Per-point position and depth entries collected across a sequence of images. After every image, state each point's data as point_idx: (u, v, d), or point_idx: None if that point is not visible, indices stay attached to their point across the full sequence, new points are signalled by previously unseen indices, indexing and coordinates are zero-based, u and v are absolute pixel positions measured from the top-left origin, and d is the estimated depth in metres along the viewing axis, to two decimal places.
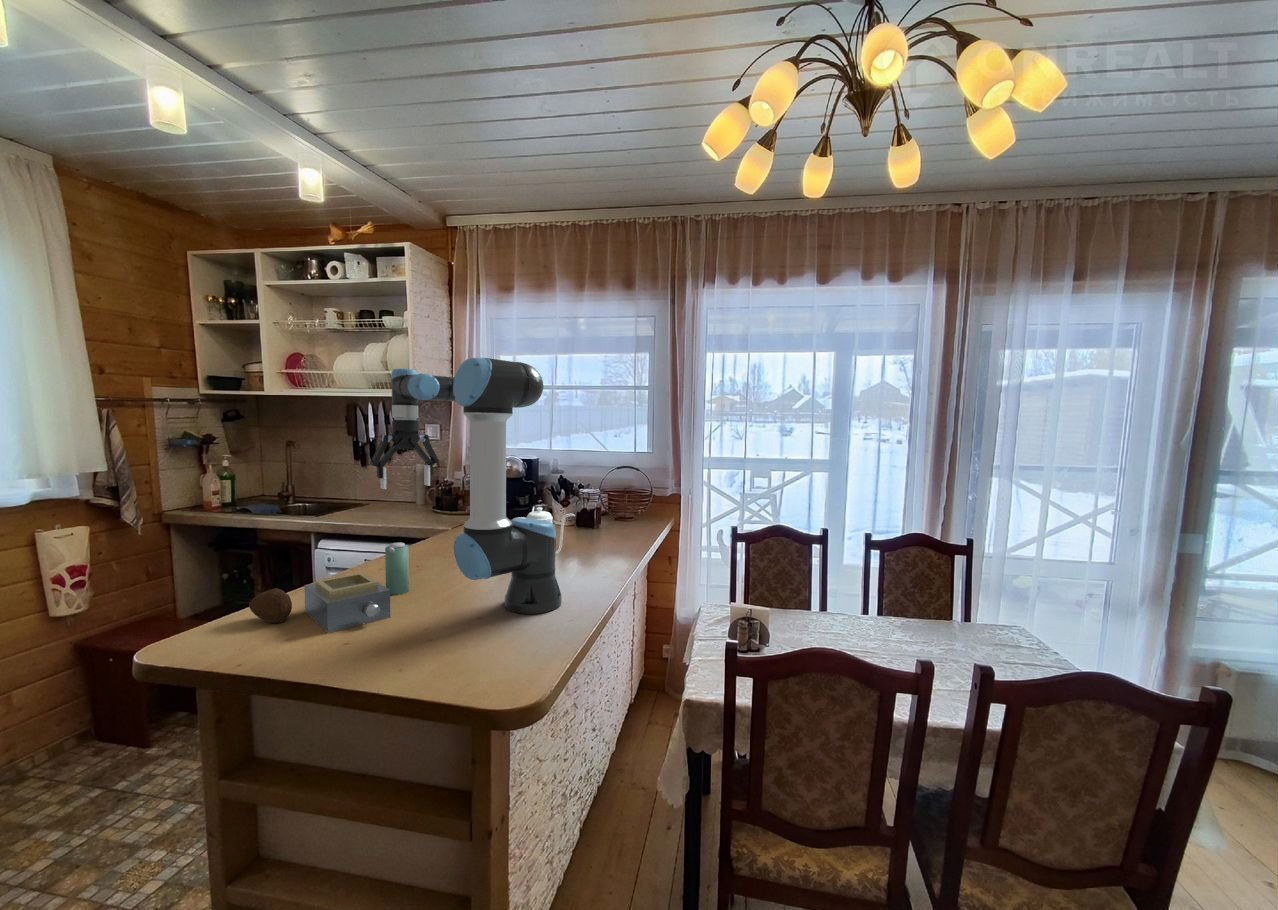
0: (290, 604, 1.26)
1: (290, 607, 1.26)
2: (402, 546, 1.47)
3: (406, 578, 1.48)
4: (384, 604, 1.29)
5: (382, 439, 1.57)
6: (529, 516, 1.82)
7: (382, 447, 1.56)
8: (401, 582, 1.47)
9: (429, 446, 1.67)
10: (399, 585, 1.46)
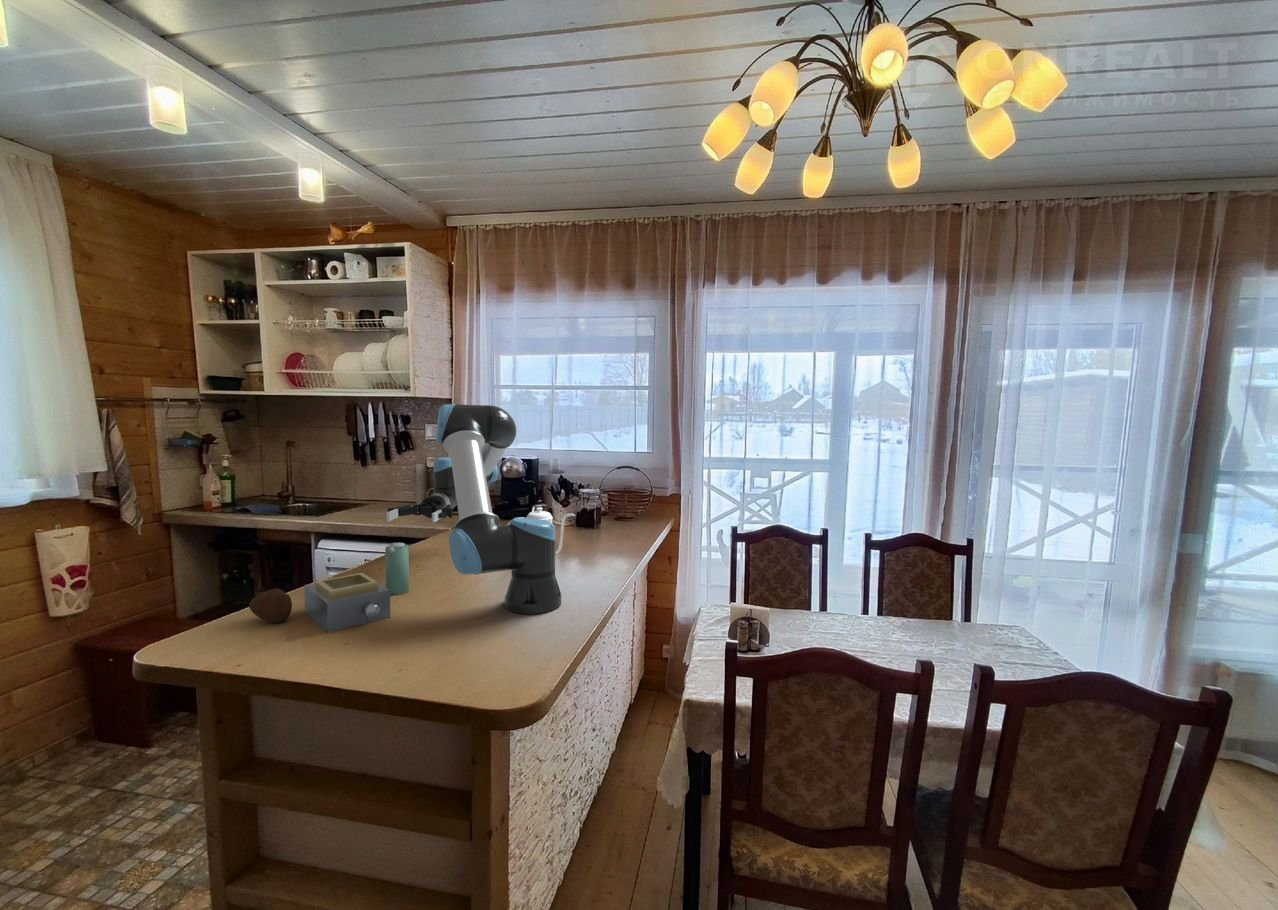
0: (290, 604, 1.26)
1: (290, 607, 1.26)
2: (402, 546, 1.47)
3: (406, 578, 1.48)
4: (384, 604, 1.29)
5: None
6: (529, 516, 1.82)
7: None
8: (401, 582, 1.47)
9: (447, 506, 1.70)
10: (399, 585, 1.46)
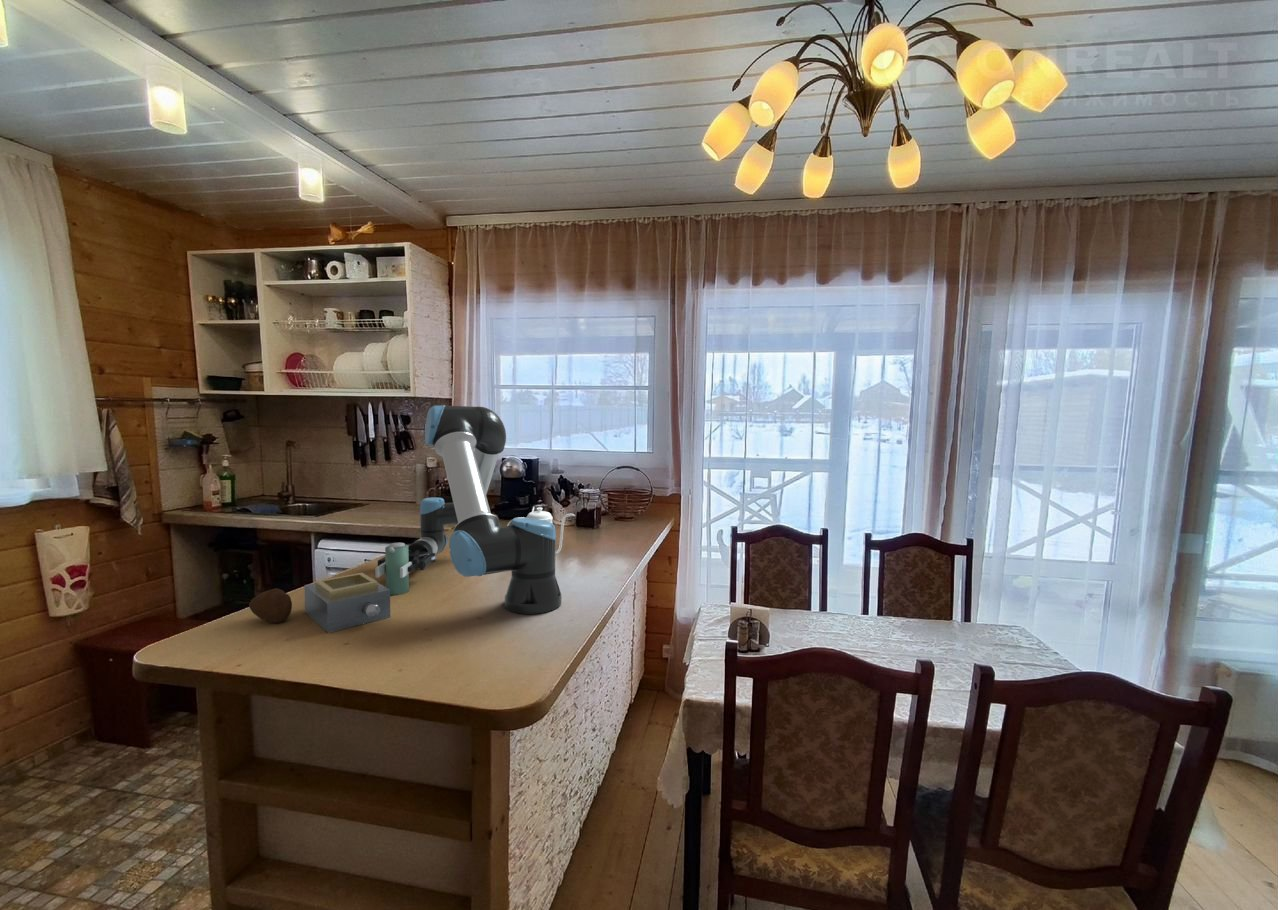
0: (290, 604, 1.26)
1: (290, 607, 1.26)
2: (402, 546, 1.47)
3: (406, 578, 1.48)
4: (384, 604, 1.29)
5: None
6: (529, 516, 1.82)
7: None
8: (401, 582, 1.47)
9: (427, 556, 1.57)
10: (399, 585, 1.46)
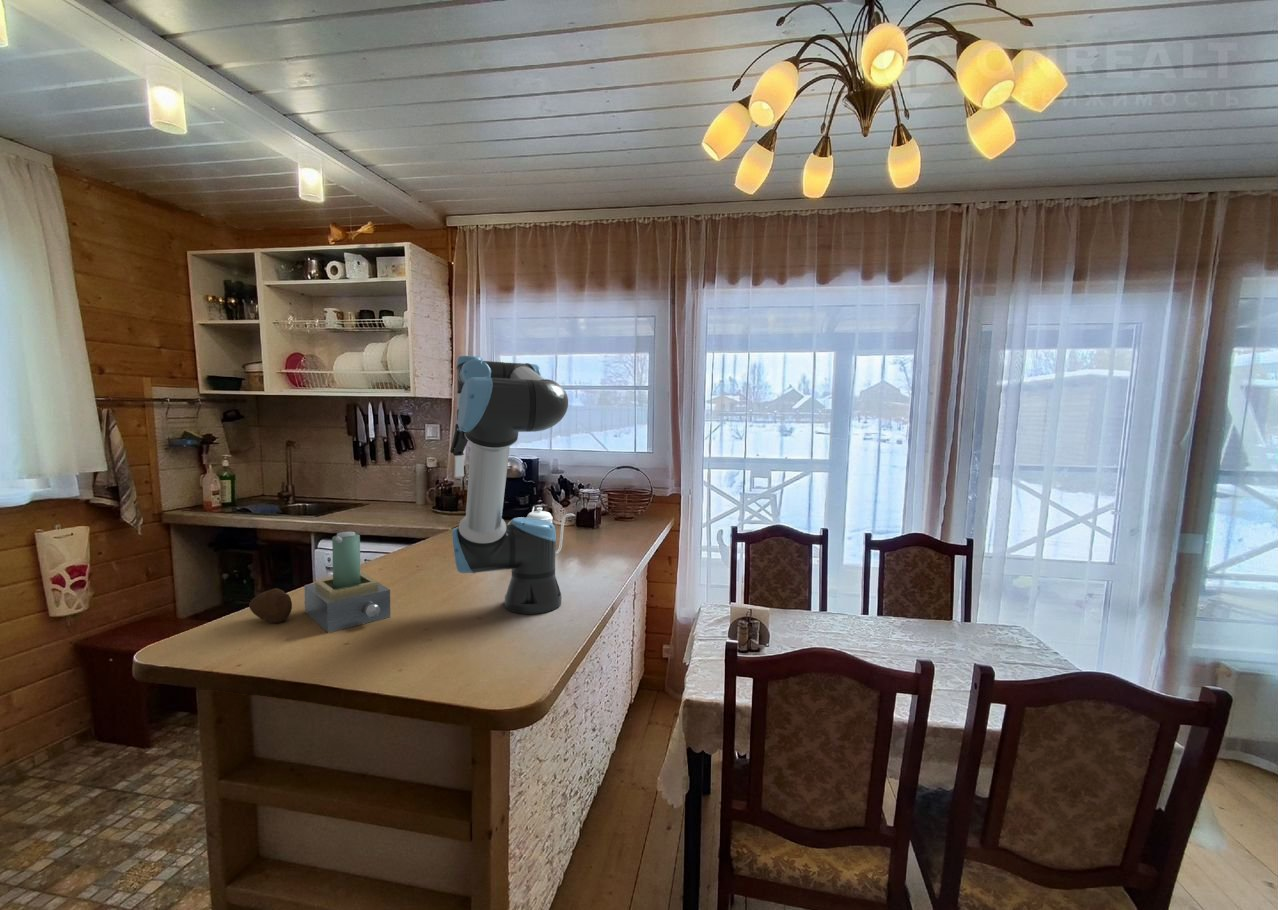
0: (290, 604, 1.26)
1: (290, 607, 1.26)
2: (352, 535, 1.29)
3: (357, 572, 1.30)
4: (384, 604, 1.29)
5: None
6: (529, 516, 1.82)
7: (454, 435, 1.61)
8: (351, 576, 1.28)
9: None
10: (348, 580, 1.28)
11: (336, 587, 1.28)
